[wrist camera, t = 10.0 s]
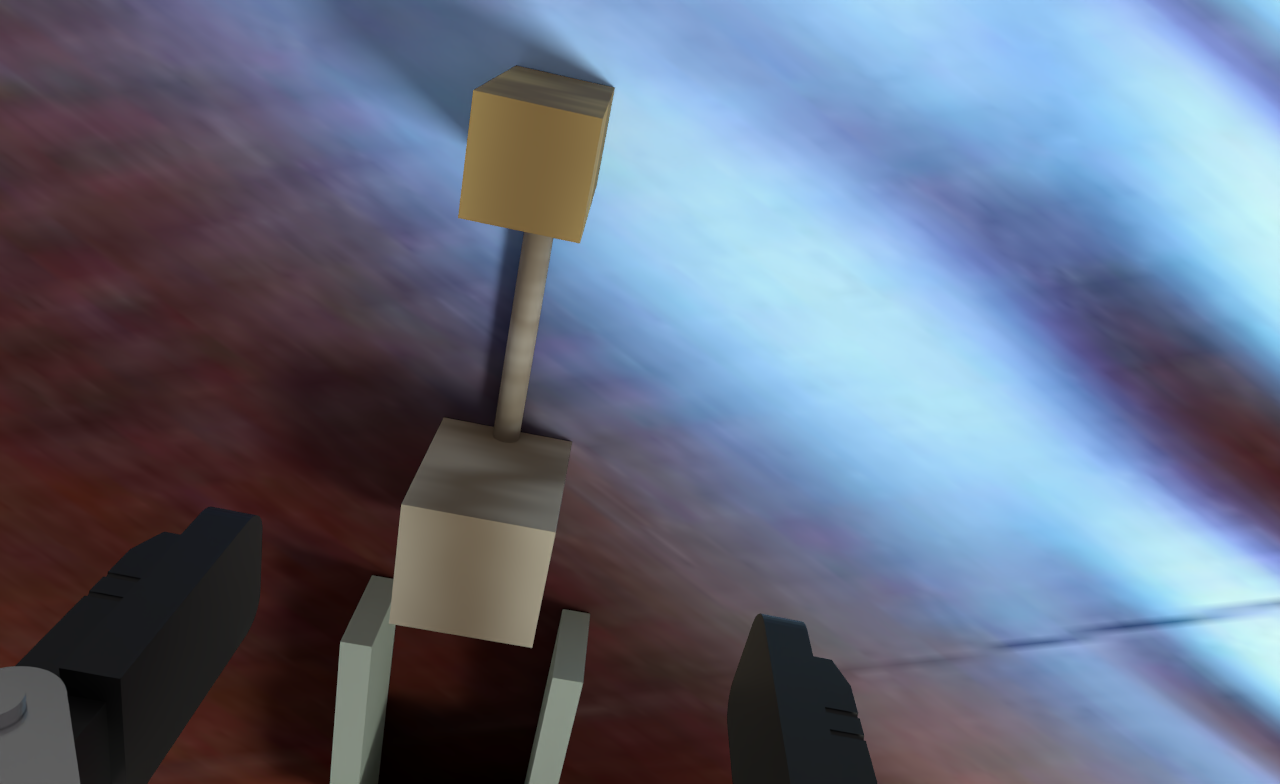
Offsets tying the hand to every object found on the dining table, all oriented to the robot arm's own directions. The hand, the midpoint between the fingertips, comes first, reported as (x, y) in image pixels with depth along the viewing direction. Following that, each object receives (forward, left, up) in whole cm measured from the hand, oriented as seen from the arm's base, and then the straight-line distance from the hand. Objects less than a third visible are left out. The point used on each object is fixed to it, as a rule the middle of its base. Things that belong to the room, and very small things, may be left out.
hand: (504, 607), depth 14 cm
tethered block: (+2, +3, -18) cm, 18 cm away
